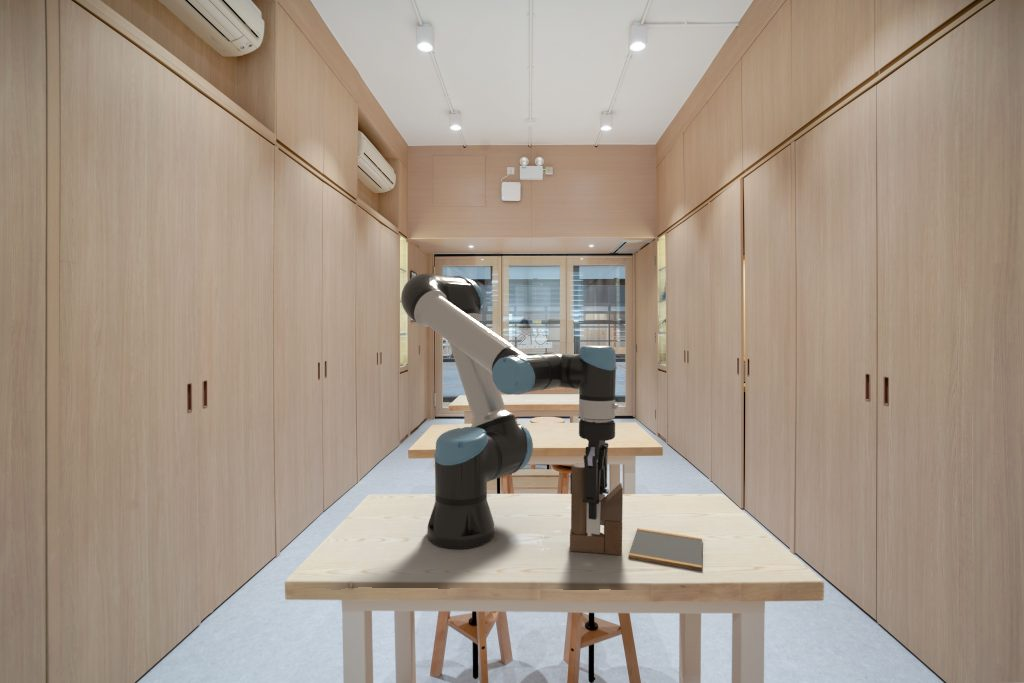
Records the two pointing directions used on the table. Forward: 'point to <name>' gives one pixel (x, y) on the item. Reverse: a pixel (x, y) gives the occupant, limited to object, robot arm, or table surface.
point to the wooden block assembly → (608, 513)
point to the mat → (667, 549)
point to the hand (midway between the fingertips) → (595, 528)
